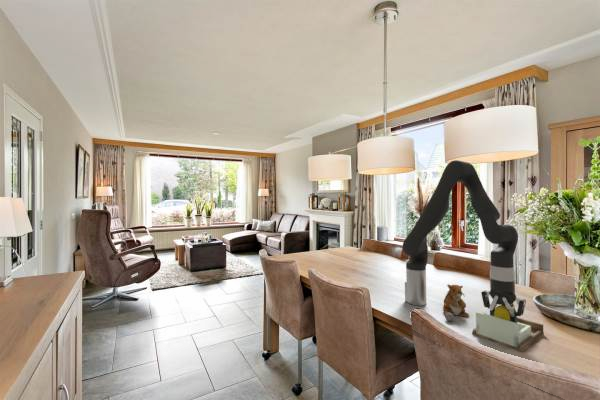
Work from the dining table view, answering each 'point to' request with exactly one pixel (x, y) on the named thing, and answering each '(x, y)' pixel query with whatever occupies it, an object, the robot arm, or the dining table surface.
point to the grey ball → (449, 316)
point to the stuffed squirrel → (454, 301)
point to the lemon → (502, 312)
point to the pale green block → (502, 329)
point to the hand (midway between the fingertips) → (503, 322)
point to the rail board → (535, 335)
